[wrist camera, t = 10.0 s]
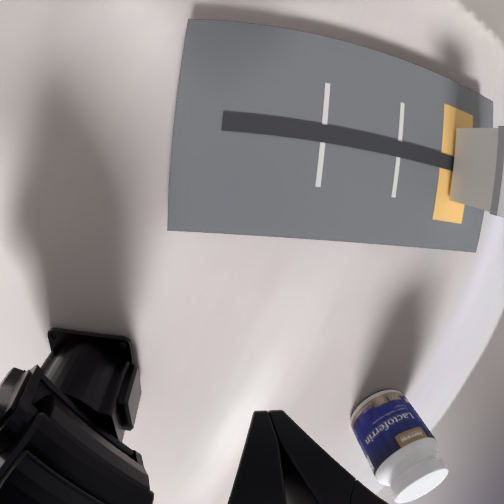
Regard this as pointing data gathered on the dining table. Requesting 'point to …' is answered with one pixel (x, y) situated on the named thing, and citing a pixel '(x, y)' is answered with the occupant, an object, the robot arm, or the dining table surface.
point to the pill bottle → (398, 445)
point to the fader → (479, 169)
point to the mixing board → (316, 141)
